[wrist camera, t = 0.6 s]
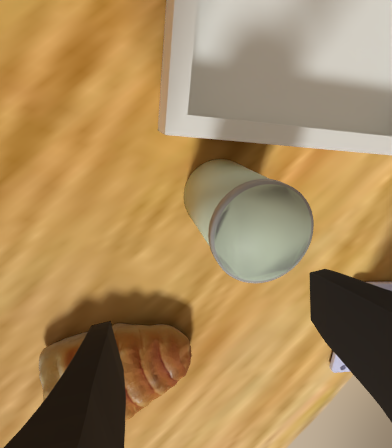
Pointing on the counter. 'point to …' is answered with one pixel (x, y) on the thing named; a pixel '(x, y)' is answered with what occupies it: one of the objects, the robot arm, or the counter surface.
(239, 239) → the tin
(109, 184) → the counter surface
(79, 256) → the counter surface
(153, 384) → the pastry
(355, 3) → the bin
